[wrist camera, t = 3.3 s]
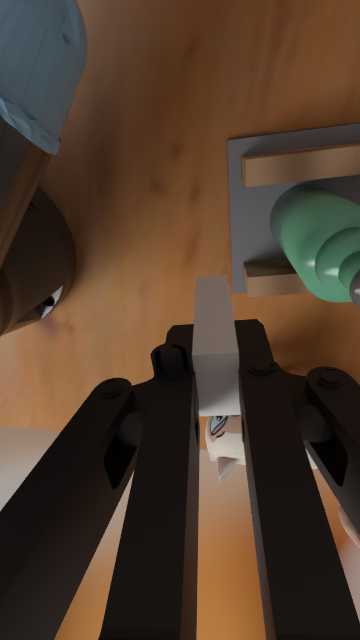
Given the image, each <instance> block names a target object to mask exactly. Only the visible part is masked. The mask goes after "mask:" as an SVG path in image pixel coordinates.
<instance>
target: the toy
mask: <svg viewBox="0 0 360 640" xmlns="http://www.w3.org/2000/svg"><path fill="white" fill-rule="evenodd" d="M205 439H206V443H207V448H208V453H209V455H210V458H211V460H212V461H217V472H218V481H219V483H220V482H221V481H222V480H223V479H224V478H225V477H226V476H227V475H228V474H229V472H230V471H231V470H232V468H233V467H234V465H235V464H236V463H237V464H244V465H245V464H246V462H245V453H244V445H243V442H242V430H241V415H223V416H209V418H208V421H207V424H206V430H205ZM306 452H307V455H308V458H309V461H310V464H311V468H312V469H317V466H316V464H315V463H314V461H313V460H312V458H311V456H310V455H309V453H308V451H307V450H306ZM339 504H340V503H339ZM338 513H339V517H340V520H341V522H342V525H343V527H344V529H345V530H346V532H347V533H348V535H349V536H350V537H351V538H352V539H353V541H354V542H355V543H356V544H357V546H358V547H359V548H360V536H359V534H358V532H357V531H356V529H355V527H354V526H353V524H352V523H351V521H350V519H349V518H348V516H347V514H346V513H345V511H344V510H343V508H342V506H341V505H340V507H339V511H338Z"/></svg>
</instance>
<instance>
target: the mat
mask: <svg viewBox="0 0 360 640" xmlns="http://www.w3.org/2000/svg"><path fill="white" fill-rule="evenodd" d="M359 141H360V123H357V124H349V125H341V126H334V127H326V128H318V129H310V130H303V131H295V132H287V133H280V134H272V135H264V136H256V137H249V138H241V139H233V140H227V155H228V180H229V204H230V229H231V253H232V278H233V293H238V292H246V288H245V284H244V277H243V262H254V261H265V260H277V259H288V258H287V257H286V255H285V253H284V252H283V250H282V249H281V247H280V246H279V244H278V243H277V241H276V240H275V238H274V237H273V235H272V233H271V230H270V222H269V221H270V214H271V211H272V208H273V206H274V204H275V202H276V201H277V200H278V198H279V197H280V196H281V195H282V194H283V193H284V192H286V191H287V190H289V189H290V188H292V187H295V186H298V185H301V184H314V185H318V186H320V187H323V188H325V189H327V190H329V191H331V192H333V193H335V194H337V195H339V196H341V197H343V198H345V199H347V200H349V201H351V202H353V203H355V204H358V205H360V174H359V175H350V176H342V177H333V178H324V179H315V180H306V181H297V182H288V183H279V184H271V185H262V186H253V187H246V186H245V185H244V184H243V182H242V181H241V156H245V155H253V154H262V153H270V152H278V151H286V150H294V149H302V148H310V147H318V146H326V145H334V144H343V143H351V142H359Z"/></svg>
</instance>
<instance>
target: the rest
mask: <svg viewBox="0 0 360 640" xmlns="http://www.w3.org/2000/svg"><path fill="white" fill-rule="evenodd" d="M359 174H360V141H359V142H351V143H343V144H334V145H326V146H318V147H310V148H302V149H294V150H286V151H278V152H270V153H262V154H253V155H245V156H241V181H242V182H243V184H244V185H245V186H246V187H253V186H262V185H271V184H279V183H288V182H297V181H306V180H315V179H324V178H333V177H342V176H350V175H359ZM243 277H244V284H245V288H246V292H247V296H248V297H258V296H272V295H285V294H298V293H311V292H310V291H309V290H308V289H307V287H306V286H305V284H304V283H303V281H302V280H301V278H300V277H299V275H298V273H297V272H296V270H295V269H294V267H293V266H292V264H291V263H290V261H289V260H288V259H277V260H265V261H254V262H243Z"/></svg>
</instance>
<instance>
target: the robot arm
mask: <svg viewBox="0 0 360 640" xmlns="http://www.w3.org/2000/svg"><path fill="white" fill-rule="evenodd" d="M86 58H87V34H86V29H85V24H84V20H83V17H82V14H81V11H80V8H79V5H78V3H77V1H76V0H0V336H2V335H4V334H7V333H9V332H12V331H14V330H17V329H19V328H22V327H24V326H27V325H30V324H32V323H34V322H37V321H39V320H41V319H42V318H44V317H45V316H47V315H48V314H49V313H50V312H52V311H53V310H54V309H55V308H56V306H57V305H58V304H59V303H60V302H61V301H62V299H63V298H64V297H65V296H66V294H67V293H68V291H69V289H70V287H71V285H72V282H73V279H74V274H75V266H76V257H75V249H74V244H73V240H72V237H71V234H70V231H69V229H68V227H67V225H66V222H65V221H64V219H63V217H62V215H61V214H60V212H59V211H58V209H57V208H56V206H55V205H54V204H53V203H52V201H51V200H50V199H49V198H48V197H47V196H46V195H45V194H44V193H43V192H42V191H41V190H40V189H39V188H38V187H37V186H38V184H39V182H40V179H41V177H42V175H43V173H44V171H45V169H46V166H47V164H48V162H49V160H50V158H51V156H52V155H56V154H57V153H58V151H59V149H60V145H61V141H60V137H59V136H60V133H61V130H62V128H63V125H64V122H65V119H66V116H67V114H68V111H69V108H70V105H71V103H72V100H73V97H74V94H75V91H76V89H77V86H78V84H79V81H80V79H81V76H82V74H83V71H84V68H85V63H86ZM151 360H152V365H153V370H154V377H153V378H152V379H150V380H148V381H146V382H143V383H140V384H137V385H133V386H132V385H131V383H130V382H129V381H128V380H127V379H124V378H112V379H108V380H105V381H103V382H102V383H100V384H99V385H98V386H96V387H95V388H94V390H93V391H92V392H91V394H90V395H89V396H88V397H87V399H86V400H85V401H84V403H83V404H82V405H81V407H80V408H79V409H78V411H77V412H76V413H75V414H74V416H73V417H72V418H71V420H70V421H69V422H68V424H67V425H66V426H65V428H64V429H63V430H62V431H61V433H60V434H59V435H58V437H57V438H56V439H55V441H54V442H53V443H52V445H51V446H50V447H49V448H48V450H47V451H46V452H45V454H44V455H43V456H42V458H41V459H40V460H39V462H38V463H37V464H36V466H35V467H34V468H33V470H32V471H31V472H30V473H29V475H28V476H27V477H26V479H25V480H24V481H23V483H22V484H21V485H20V487H19V488H18V489H17V490H16V492H15V493H14V495H13V496H12V497H11V498H10V499H9V501H8V502H7V503H6V505H5V506H4V507H3V509H2V510H1V511H0V640H54V638H55V636H56V634H57V632H58V630H59V628H60V625H61V623H62V621H63V619H64V617H65V615H66V613H67V610H68V608H69V606H70V604H71V602H72V600H73V598H74V596H75V594H76V592H77V589H78V587H79V585H80V583H81V581H82V579H83V577H84V575H85V573H86V570H87V568H88V566H89V564H90V562H91V560H92V558H93V556H94V554H95V552H96V549H97V547H98V545H99V543H100V541H101V539H102V537H103V534H104V533H105V530H106V528H107V526H108V524H109V522H110V520H111V518H112V516H113V514H114V511H115V509H116V507H117V505H118V503H119V501H120V499H121V497H122V495H123V492H124V490H125V488H126V486H127V484H128V482H129V480H130V478H131V476H132V473H133V471H134V475H133V480H132V485H131V489H130V494H129V499H128V504H127V509H126V514H125V519H124V523H123V528H122V533H121V538H120V543H119V548H118V552H117V557H116V562H115V567H114V572H113V576H112V581H111V586H110V591H109V595H108V600H107V605H106V611H105V615H104V620H103V624H102V629H101V633H100V636H99V639H98V640H196V628H197V567H198V566H197V565H198V562H197V561H198V508H199V448H200V425H199V416H223V415H241V430H242V442H243V445H244V453H245V462H246V471H247V479H248V488H249V495H250V505H251V513H252V522H253V530H254V539H255V548H256V556H257V564H258V573H259V582H260V590H261V599H262V607H263V616H264V625H265V633H266V640H360V622H359V619H358V616H357V612H356V609H355V606H354V603H353V599H352V596H351V593H350V590H349V587H348V583H347V580H346V577H345V574H344V571H343V567H342V564H341V561H340V558H339V555H338V551H337V548H336V545H335V542H334V538H333V535H332V532H331V529H330V526H329V522H328V519H327V516H326V513H325V509H324V506H323V503H322V500H321V497H320V493H319V490H318V487H317V484H316V480H315V477H314V474H313V471H312V468H311V464H310V461H309V458H308V455H307V452H306V450H307V451H308V453H309V455H310V456H311V458H312V460H313V461H314V463H315V464H316V466H317V468H318V469H319V471H320V472H321V474H322V476H323V477H324V479H325V480H326V482H327V483H328V485H329V487H330V489H331V490H332V492H333V493H334V495H335V497H336V498H337V500H338V502H339V503H340V505H341V506H342V508H343V510H344V511H345V513H346V514H347V516H348V518H349V519H350V521H351V523H352V524H353V526H354V527H355V529H356V531H357V532H358V534H359V536H360V385H359V384H358V383H357V382H356V381H355V380H354V379H353V378H352V377H351V376H350V375H348V374H347V373H346V372H344V371H342V370H339V369H337V368H333V367H317V368H315V369H312V370H311V371H310V372H309V373H308V374H307V377H305V376H299V375H294V374H290V373H287V372H285V371H283V370H282V369H281V368H280V366H279V365H278V363H276V362H275V361H274V359H273V356H272V352H271V349H270V345H269V342H268V340H267V335H266V332H265V329H264V325H263V324H262V323H260V322H259V321H258V320H257V319H250V320H235V321H234V317H233V311H232V304H231V297H230V291H229V284H228V277H227V275H220V276H208V277H197V282H196V298H195V314H194V324H187V325H173V326H172V327H171V329H170V330H169V331H168V332H167V337H166V342H165V344H162V345H160V346H158V347H156V348H155V349H154V350H153V351H152V353H151ZM134 469H135V470H134Z"/></svg>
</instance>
